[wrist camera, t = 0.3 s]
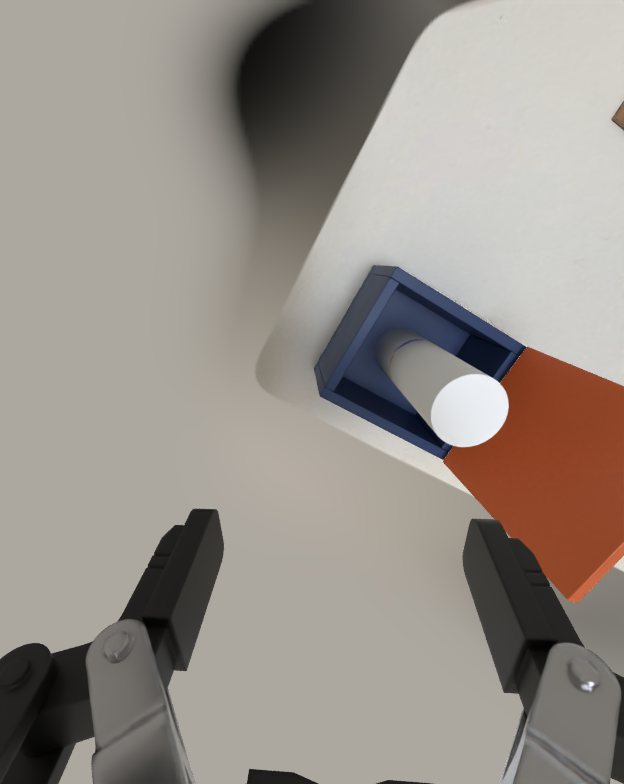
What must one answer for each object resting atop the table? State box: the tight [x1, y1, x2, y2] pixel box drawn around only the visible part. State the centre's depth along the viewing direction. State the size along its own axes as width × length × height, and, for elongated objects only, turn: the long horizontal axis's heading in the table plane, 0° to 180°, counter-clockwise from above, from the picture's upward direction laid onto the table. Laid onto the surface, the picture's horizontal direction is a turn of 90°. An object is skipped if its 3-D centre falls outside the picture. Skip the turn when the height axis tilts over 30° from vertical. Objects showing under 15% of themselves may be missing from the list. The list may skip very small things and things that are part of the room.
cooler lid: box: [443, 347, 624, 603], centre depth 24 cm, size 12×11×1 cm
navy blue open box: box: [314, 265, 526, 460], centre depth 32 cm, size 12×11×8 cm
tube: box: [375, 328, 509, 447], centre depth 28 cm, size 4×4×15 cm
